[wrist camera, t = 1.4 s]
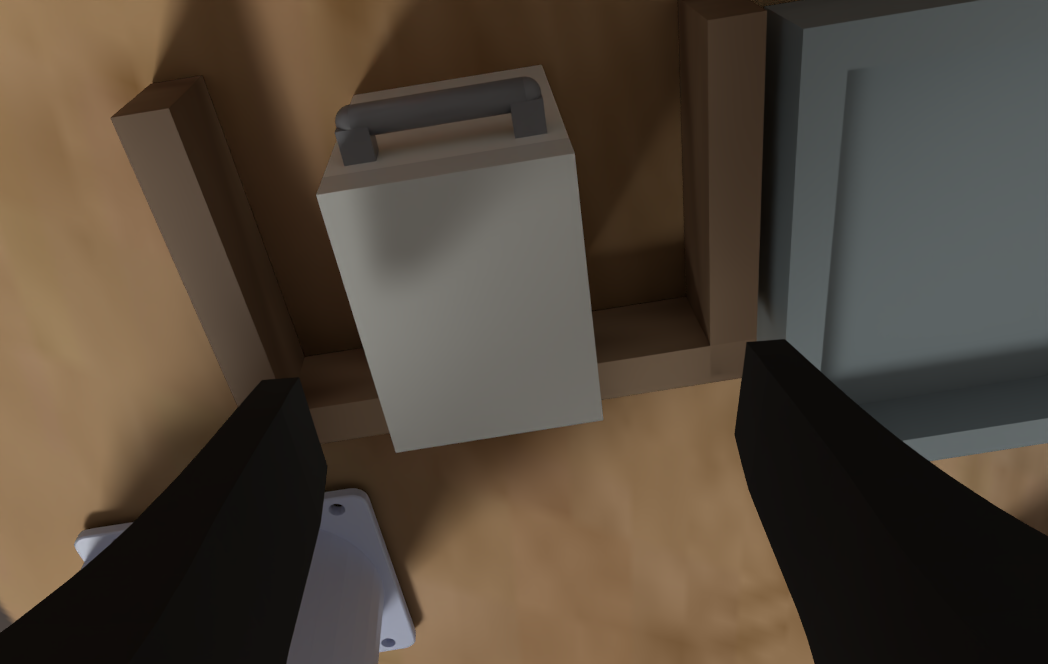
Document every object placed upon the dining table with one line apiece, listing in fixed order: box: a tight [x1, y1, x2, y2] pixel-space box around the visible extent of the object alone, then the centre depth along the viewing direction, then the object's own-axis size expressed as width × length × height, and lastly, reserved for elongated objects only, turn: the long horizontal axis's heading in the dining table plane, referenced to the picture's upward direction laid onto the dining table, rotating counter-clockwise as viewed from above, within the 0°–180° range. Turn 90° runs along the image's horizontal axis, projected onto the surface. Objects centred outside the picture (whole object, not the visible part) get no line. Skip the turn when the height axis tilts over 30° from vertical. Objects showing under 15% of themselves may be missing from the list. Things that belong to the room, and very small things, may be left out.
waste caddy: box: [316, 65, 603, 453], centre depth 17 cm, size 4×7×6 cm, turn 8°
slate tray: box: [757, 0, 1048, 461], centre depth 20 cm, size 13×13×2 cm
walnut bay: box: [111, 0, 767, 444], centre depth 19 cm, size 13×9×2 cm
